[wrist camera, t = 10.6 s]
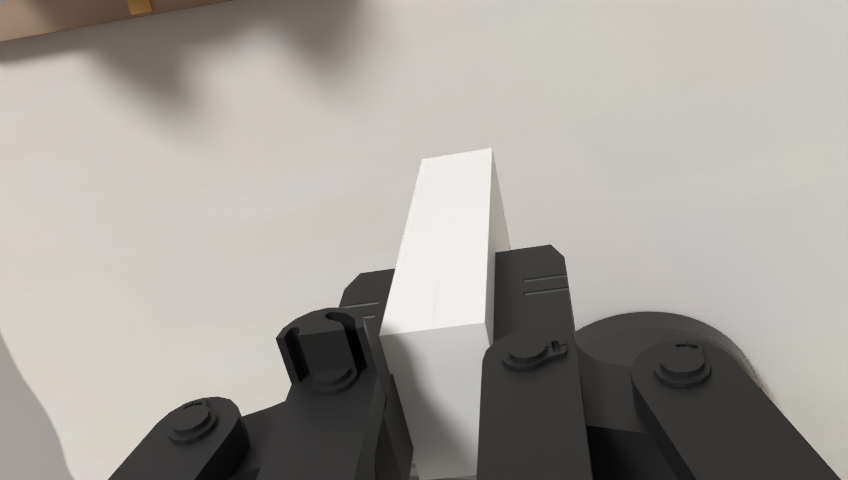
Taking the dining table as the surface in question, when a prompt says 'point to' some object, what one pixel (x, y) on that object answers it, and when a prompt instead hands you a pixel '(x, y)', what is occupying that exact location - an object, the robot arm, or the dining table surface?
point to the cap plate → (78, 13)
